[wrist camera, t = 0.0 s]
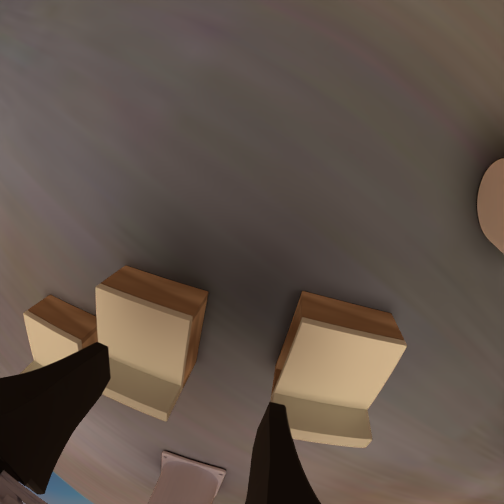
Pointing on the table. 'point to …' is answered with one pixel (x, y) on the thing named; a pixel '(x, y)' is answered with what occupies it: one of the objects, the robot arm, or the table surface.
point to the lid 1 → (48, 342)
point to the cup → (492, 204)
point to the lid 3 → (334, 382)
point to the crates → (195, 305)
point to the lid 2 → (142, 350)
